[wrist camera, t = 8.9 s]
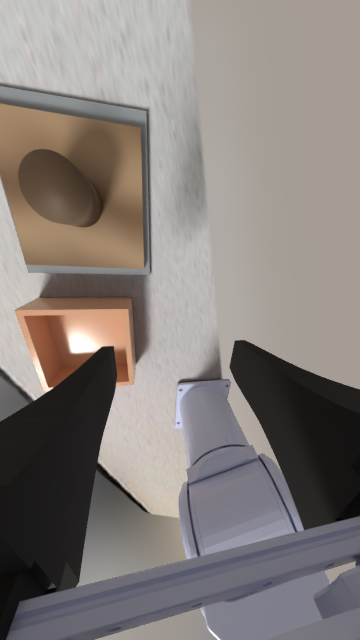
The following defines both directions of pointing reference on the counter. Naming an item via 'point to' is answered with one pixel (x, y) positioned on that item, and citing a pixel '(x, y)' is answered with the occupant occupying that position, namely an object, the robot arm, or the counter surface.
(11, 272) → the counter surface
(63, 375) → the terracotta open box
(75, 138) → the walnut lid
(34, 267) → the rubber mat
